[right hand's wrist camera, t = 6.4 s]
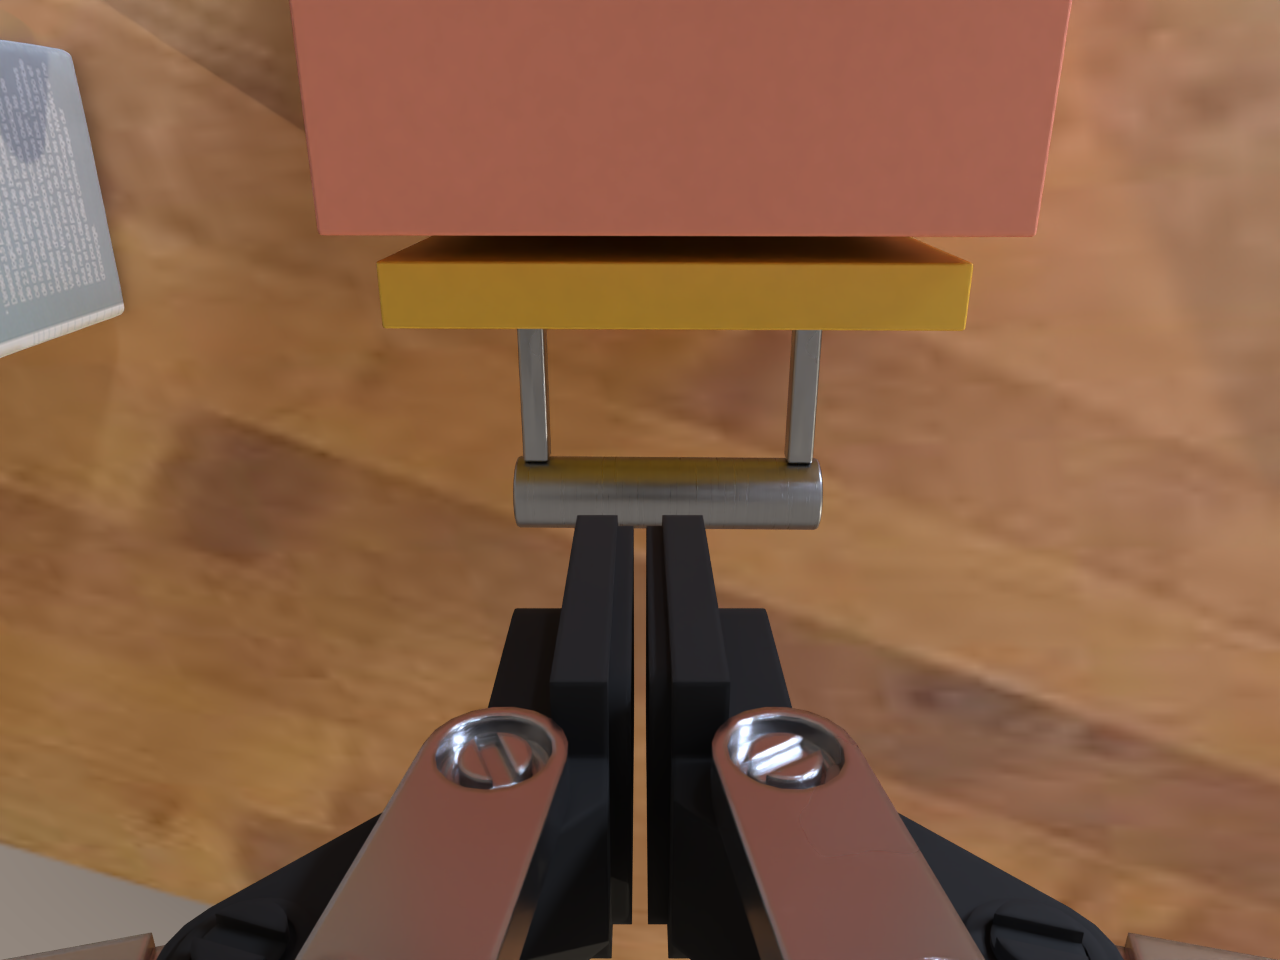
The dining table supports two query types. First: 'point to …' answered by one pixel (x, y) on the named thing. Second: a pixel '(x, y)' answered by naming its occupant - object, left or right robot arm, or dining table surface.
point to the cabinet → (679, 116)
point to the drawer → (683, 300)
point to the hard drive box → (49, 205)
